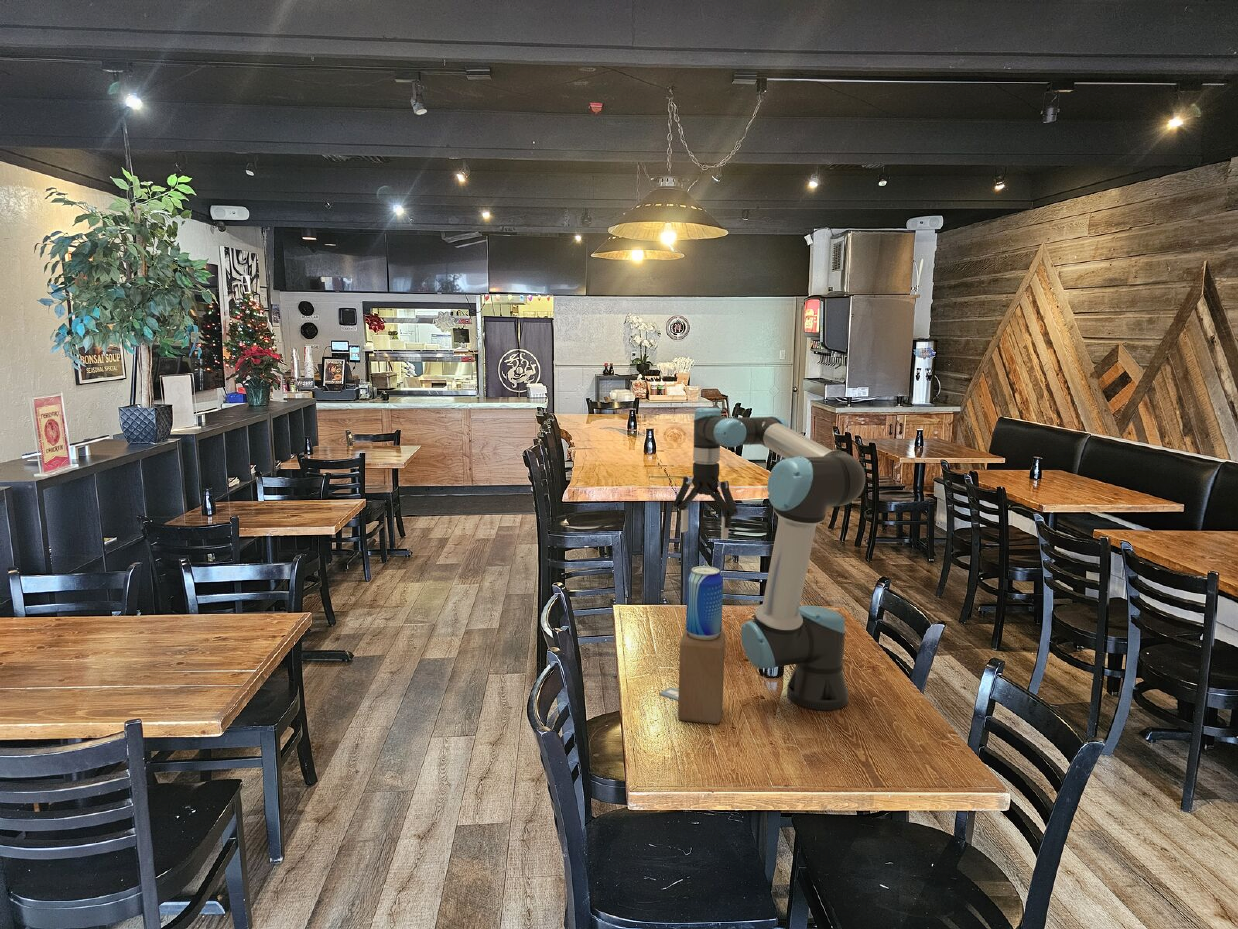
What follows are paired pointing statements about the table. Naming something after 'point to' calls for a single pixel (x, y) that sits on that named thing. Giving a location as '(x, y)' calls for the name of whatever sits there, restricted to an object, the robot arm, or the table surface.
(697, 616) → the beer can
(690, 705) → the block
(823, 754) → the table surface
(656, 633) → the table surface
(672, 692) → the card
